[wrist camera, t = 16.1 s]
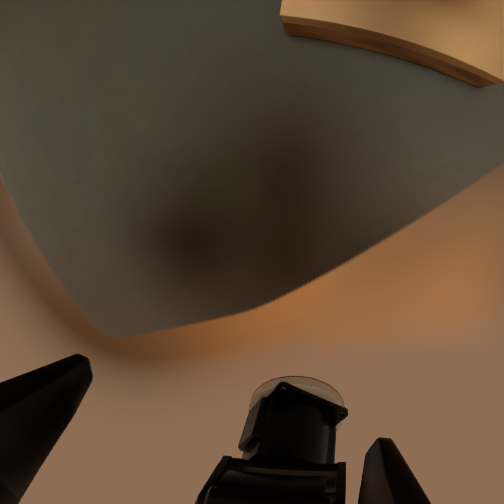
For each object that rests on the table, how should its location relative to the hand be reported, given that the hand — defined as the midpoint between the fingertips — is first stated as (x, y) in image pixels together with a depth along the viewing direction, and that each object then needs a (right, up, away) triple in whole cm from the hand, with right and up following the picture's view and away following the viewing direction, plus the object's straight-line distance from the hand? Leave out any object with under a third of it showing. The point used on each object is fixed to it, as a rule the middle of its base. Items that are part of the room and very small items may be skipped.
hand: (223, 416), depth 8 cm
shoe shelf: (+10, +22, +4) cm, 24 cm away
